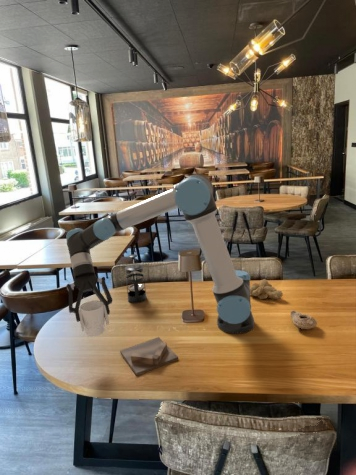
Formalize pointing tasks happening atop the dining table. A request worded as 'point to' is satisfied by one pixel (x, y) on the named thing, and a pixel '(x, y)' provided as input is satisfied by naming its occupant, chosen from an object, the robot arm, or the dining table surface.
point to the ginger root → (264, 290)
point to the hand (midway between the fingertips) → (95, 326)
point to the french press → (135, 283)
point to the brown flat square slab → (148, 355)
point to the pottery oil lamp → (303, 320)
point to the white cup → (93, 317)
